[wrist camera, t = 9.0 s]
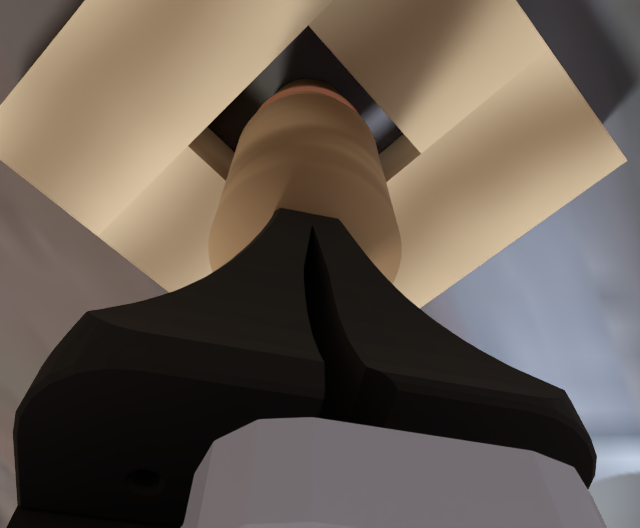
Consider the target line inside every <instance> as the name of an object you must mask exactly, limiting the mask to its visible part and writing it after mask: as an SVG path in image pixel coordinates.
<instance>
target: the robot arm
mask: <svg viewBox="0 0 640 528" xmlns="http://www.w3.org/2000/svg"><path fill="white" fill-rule="evenodd" d="M13 441H14V456H15V472H16V487H17V502H18V506H17V508H16V510H15V512H14V514H13V516H12V518H11V520H10V522H9V524H8V526H7V528H607V527H606V525H605V523H604V521H603V518H602V516H601V514H600V512H599V510H598V508H597V506H596V504H595V502H594V500H593V498H592V496H591V494H590V492H589V491H588V489H589V487H590V485H591V483H592V480H593V478H594V476H595V470H596V459H597V456H596V453H595V450H594V447H593V444H592V441H591V438H590V436H589V434H588V432H587V430H586V429H585V427H584V425H583V423H582V421H581V419H580V417H579V415H578V414H577V412H576V410H575V408H574V406H573V404H572V402H571V400H570V399H569V397H568V395H567V394H566V392H565V390H563V389H560V388H558V387H556V386H553V385H551V384H549V383H547V382H544V381H542V380H540V379H538V378H535V377H533V376H531V375H529V374H526V373H524V372H522V371H519V370H517V369H515V368H513V367H511V366H509V365H507V364H505V363H503V362H501V361H499V360H497V359H496V358H494V357H492V356H490V355H488V354H486V353H484V352H483V351H481V350H479V349H477V348H476V347H474V346H472V345H471V344H469V343H467V342H466V341H464V340H462V339H461V338H459V337H458V336H456V335H455V334H453V333H452V332H450V331H449V330H448V329H446V328H445V327H443V326H442V325H440V324H439V323H437V322H436V321H435V320H433V319H432V318H431V317H429V316H428V315H427V314H425V313H424V312H423V311H422V310H421V309H419V308H418V307H417V306H416V305H415V304H414V303H412V302H411V301H410V300H409V299H408V298H406V297H405V296H404V295H403V294H402V293H401V292H400V291H399V290H398V289H397V288H396V287H395V286H394V285H393V284H392V283H391V282H390V281H389V280H388V279H387V278H386V277H385V276H384V275H383V274H382V272H381V271H380V270H379V269H378V268H377V267H376V266H375V265H374V263H373V262H372V261H371V260H370V259H369V257H368V256H367V255H366V254H365V252H364V251H363V250H362V249H361V247H360V246H359V245H358V243H357V242H356V241H355V239H354V238H353V237H352V236H351V234H350V233H349V231H348V230H347V229H346V227H345V226H344V225H343V223H342V222H341V221H340V220H339V219H337V218H332V217H327V216H322V215H316V214H311V213H306V212H301V211H295V210H290V209H285V208H279V209H277V210H276V211H274V214H273V216H272V217H271V219H270V221H269V222H268V223H267V225H266V226H265V227H264V228H263V230H262V231H261V232H260V233H259V234H258V235H257V236H256V237H255V238H254V239H253V240H252V241H251V242H250V243H249V244H248V245H247V246H246V247H245V248H244V249H243V250H242V251H240V252H239V253H238V254H237V255H236V256H235V257H233V258H232V259H231V260H230V261H228V262H227V263H226V264H224V265H223V266H221V267H220V268H219V269H217V270H216V271H214V272H212V273H211V274H209V275H208V276H206V277H204V278H202V279H200V280H198V281H196V282H194V283H191V284H189V285H187V286H185V287H183V288H181V289H178V290H175V291H173V292H170V293H167V294H164V295H161V296H158V297H154V298H151V299H148V300H144V301H140V302H136V303H132V304H126V305H121V306H116V307H110V308H105V309H100V310H93V311H88V312H86V313H85V314H84V315H83V316H82V317H81V318H80V320H79V321H78V322H77V323H76V324H75V325H74V326H73V327H72V329H71V330H70V331H69V332H68V333H67V334H66V336H65V337H64V338H63V339H62V340H61V341H60V343H59V344H58V345H57V346H56V347H55V348H54V350H53V351H52V352H51V354H50V355H49V357H48V358H47V359H46V361H45V362H44V364H43V365H42V367H41V369H40V370H39V372H38V374H37V376H36V377H35V379H34V381H33V383H32V384H31V386H30V388H29V390H28V391H27V393H26V395H25V397H24V398H23V400H22V402H21V403H20V405H19V407H18V409H17V410H16V414H15V422H14V429H13Z"/></svg>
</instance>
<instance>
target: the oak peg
mask: <svg viewBox="0 0 640 528" xmlns="http://www.w3.org/2000/svg"><path fill="white" fill-rule="evenodd" d="M279 208H285V209H290V210H295V211H301V212H306V213H311V214H316V215H322V216H327V217H332V218H337V219H339V220H340V221H341V222H342V223H343V225H344V226H345V227H346V229H347V230H348V231H349V233H350V234H351V236H352V237H353V238H354V239H355V241H356V242H357V243H358V245H359V246H360V247H361V249H362V250H363V251H364V252H365V254H366V255H367V256H368V257H369V259H370V260H371V261H372V262H373V263H374V265H375V266H376V267H377V268H378V269H379V270H380V271H381V272H382V274H383V275H384V276H385V277H386V278H387V279H388V280H389V281H390V282H391V283H392V284H393V282H394V280H395V278H396V276H397V273H398V270H399V266H400V261H401V251H402V245H401V236H400V232H399V228H398V224H397V221H396V217H395V213H394V210H393V206H392V202H391V198H390V195H389V191H388V187H387V184H386V180H385V176H384V173H383V169H382V165H381V161H380V158H379V154H378V150H377V147H376V143H375V140H374V137H373V135H372V133H371V131H370V129H369V127H368V126H367V124H366V123H365V122H364V120H363V119H362V118H361V117H360V115H359V114H358V112H357V110H356V109H355V108H354V107H353V105H352V104H351V103H350V102H349V101H348V100H347V99H345V98H344V97H343V96H341V95H340V93H339V92H338V91H337V90H336V89H335V88H333V87H332V86H330V85H329V84H327V83H325V82H322V81H320V80H315V79H300V80H296V81H293V82H290V83H288V84H286V85H285V86H283V87H282V88H281V89H280V90H279V91H278V92H277V93H276V94H274V95H273V96H271V97H270V98H269V99H268V100H266V101H265V102H264V103H263V105H262V106H261V107H260V108H259V109H258V111H257V112H256V114H255V115H254V116H253V117H252V118H251V119H250V120H249V122H248V123H247V125H246V126H245V128H244V129H243V131H242V134H241V136H240V138H239V141H238V144H237V148H236V151H235V154H234V157H233V160H232V163H231V167H230V170H229V173H228V176H227V179H226V182H225V186H224V189H223V192H222V195H221V198H220V201H219V205H218V208H217V211H216V214H215V217H214V220H213V224H212V227H211V230H210V235H209V242H208V254H209V261H210V266H211V269H212V272H214V271H216V270H217V269H219V268H220V267H221V266H223V265H224V264H226V263H227V262H228V261H230V260H231V259H232V258H233V257H235V256H236V255H237V254H238V253H239V252H240V251H242V250H243V249H244V248H245V247H246V246H247V245H248V244H249V243H250V242H251V241H252V240H253V239H254V238H255V237H256V236H257V235H258V234H259V233H260V232H261V231H262V230H263V228H264V227H265V226H266V225H267V223H268V222H269V221H270V219H271V217H272V216H273V214H274V211H276V210H277V209H279Z"/></svg>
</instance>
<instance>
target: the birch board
mask: <svg viewBox="0 0 640 528" xmlns="http://www.w3.org/2000/svg"><path fill="white" fill-rule="evenodd" d="M307 26H309V27H310V28H311V29H312V30H313V31H314V32H315V33H316V35H317V36H318V37H319V38H320V39H321V40H322V41H323V43H324V44H325V45H326V46H327V47H328V48H329V49H330V51H331V52H332V53H333V54H334V55H335V56H336V57H337V58H338V60H339V61H340V62H341V63H342V64H343V65H344V66H345V68H346V69H347V70H348V71H349V72H350V73H351V74H352V76H353V77H354V78H355V79H356V80H357V81H358V82H359V84H360V85H361V86H362V87H363V88H364V89H365V90H366V91H367V93H368V94H369V95H370V96H371V97H372V98H373V99H374V101H375V102H376V103H377V104H378V105H379V106H380V107H381V109H382V110H383V111H384V112H385V113H386V114H387V115H388V116H389V118H390V119H391V120H392V121H393V122H394V123H395V124H396V126H397V127H398V128H399V129H400V130H401V131H402V132H403V135H401V136H400V137H399V138H398V139H397V140H396V141H394V142H393V143H392V144H391V145H390V146H388V147H387V148H386V149H385V150H384V151H383V152H381V153H380V154H379V158H380V161H381V165H382V169H383V173H384V176H385V180H386V184H387V187H388V191H389V195H390V198H391V202H392V206H393V210H394V213H395V217H396V221H397V224H398V228H399V232H400V236H401V245H402V251H401V261H400V266H399V270H398V273H397V276H396V278H395V280H394V282H393V285H394V286H395V287H396V288H397V289H398V290H399V291H400V292H401V293H402V294H403V295H404V296H405V297H406V298H408V299H409V300H410V301H411V302H412V303H414V304H415V305H416V306H417V307H418V308H421V307H422V306H424V305H425V304H426V303H428V302H429V301H431V300H432V299H433V298H435V297H436V296H438V295H439V294H441V293H442V292H443V291H445V290H446V289H448V288H449V287H450V286H452V285H453V284H455V283H456V282H457V281H459V280H460V279H462V278H463V277H464V276H466V275H467V274H469V273H470V272H471V271H473V270H474V269H476V268H477V267H478V266H480V265H481V264H483V263H484V262H485V261H487V260H488V259H490V258H491V257H492V256H494V255H495V254H497V253H498V252H500V251H501V250H502V249H504V248H505V247H507V246H508V245H509V244H511V243H512V242H514V241H515V240H516V239H518V238H519V237H521V236H522V235H523V234H525V233H526V232H528V231H529V230H530V229H532V228H533V227H535V226H536V225H537V224H539V223H540V222H542V221H543V220H544V219H546V218H547V217H549V216H550V215H552V214H553V213H554V212H556V211H557V210H559V209H560V208H561V207H563V206H564V205H566V204H567V203H568V202H570V201H571V200H573V199H574V198H575V197H577V196H578V195H580V194H581V193H582V192H584V191H585V190H587V189H588V188H589V187H591V186H592V185H594V184H595V183H596V182H598V181H599V180H601V179H602V178H603V177H605V176H606V175H608V174H609V173H611V172H612V171H613V170H615V169H616V168H618V167H619V166H620V165H622V164H623V163H625V162H626V161H627V159H626V158H625V156H624V155H623V154H622V152H621V151H620V149H619V148H618V146H617V145H616V144H615V142H614V141H613V139H612V138H611V136H610V135H609V133H608V132H607V131H606V129H605V128H604V126H603V125H602V123H601V122H600V120H599V119H598V118H597V116H596V115H595V113H594V112H593V110H592V109H591V108H590V106H589V105H588V103H587V102H586V100H585V99H584V97H583V96H582V95H581V93H580V92H579V90H578V89H577V87H576V86H575V84H574V83H573V82H572V80H571V79H570V77H569V76H568V74H567V73H566V71H565V70H564V69H563V67H562V66H561V64H560V63H559V61H558V60H557V59H556V57H555V56H554V54H553V53H552V51H551V50H550V48H549V47H548V46H547V44H546V43H545V41H544V40H543V38H542V37H541V35H540V34H539V33H538V31H537V30H536V28H535V27H534V25H533V24H532V23H531V21H530V20H529V18H528V17H527V15H526V14H525V12H524V11H523V10H522V8H521V7H520V5H519V4H518V2H517V1H516V0H85V1H84V2H83V3H82V5H81V6H80V7H79V8H78V10H77V11H76V12H75V13H74V15H73V16H72V17H71V18H70V20H69V21H68V22H67V23H66V24H65V26H64V27H63V28H62V29H61V31H60V32H59V33H58V34H57V36H56V37H55V38H54V39H53V41H52V42H51V43H50V44H49V46H48V47H47V48H46V49H45V51H44V52H43V53H42V54H41V56H40V57H39V58H38V59H37V61H36V62H35V63H34V64H33V66H32V67H31V68H30V69H29V71H28V72H27V73H26V74H25V76H24V77H23V78H22V79H21V81H20V82H19V83H18V84H17V86H16V87H15V88H14V89H13V91H12V92H11V93H10V94H9V95H8V97H7V98H6V99H5V100H4V102H3V103H2V104H1V105H0V160H1V161H3V162H4V163H5V164H6V165H8V166H9V167H10V168H11V169H13V170H14V171H15V172H17V173H18V174H19V175H20V176H22V177H23V178H24V179H25V180H27V181H28V182H29V183H31V184H32V185H33V186H34V187H36V188H37V189H38V190H39V191H41V192H42V193H43V194H45V195H46V196H47V197H48V198H50V199H51V200H52V201H53V202H55V203H56V204H57V205H59V206H60V207H61V208H62V209H64V210H65V211H66V212H67V213H69V214H70V215H71V216H73V217H74V218H75V219H76V220H78V221H79V222H80V223H81V224H83V225H84V226H85V227H87V228H88V229H89V230H90V231H92V232H93V233H94V234H96V235H97V236H98V237H99V238H101V239H102V240H103V241H104V242H106V243H107V244H108V245H110V246H111V247H112V248H113V249H115V250H116V251H117V252H118V253H120V254H121V255H122V256H124V257H125V258H126V259H127V260H129V261H130V262H131V263H132V264H134V265H135V266H136V267H138V268H139V269H140V270H141V271H143V272H144V273H145V274H146V275H148V276H149V277H150V278H152V279H153V280H154V281H155V282H157V283H158V284H159V285H160V286H162V287H163V288H164V289H166V290H167V291H168V292H169V293H170V292H173V291H175V290H178V289H181V288H183V287H185V286H187V285H189V284H191V283H194V282H196V281H198V280H200V279H202V278H204V277H206V276H208V275H209V274H211V273H212V269H211V266H210V261H209V254H208V242H209V235H210V230H211V227H212V224H213V220H214V217H215V214H216V211H217V208H218V205H219V201H220V198H221V195H222V192H223V189H224V186H225V182H226V179H227V176H228V173H229V170H230V167H231V163H232V160H233V157H234V154H235V153H234V152H233V151H232V150H231V149H230V148H229V147H228V146H227V145H226V144H225V143H224V142H223V141H222V140H221V139H220V138H219V137H218V136H217V135H216V134H215V133H213V132H212V131H211V130H210V129H209V128H208V127H207V126H208V125H209V124H210V123H211V122H212V121H213V120H214V119H215V118H216V117H217V116H218V115H219V114H220V113H221V112H222V111H223V110H224V109H225V108H226V107H227V106H228V105H229V104H230V103H231V102H232V101H233V100H234V99H235V98H236V97H237V96H238V95H239V94H240V93H241V92H242V91H243V90H244V89H245V88H246V87H247V86H248V85H249V84H250V83H251V82H252V81H253V80H254V79H255V78H256V77H257V76H258V75H259V74H260V73H261V72H262V71H263V70H264V69H265V68H266V67H267V66H268V65H269V64H270V63H271V62H272V61H273V60H274V59H275V58H276V57H277V56H278V55H279V54H280V53H281V52H282V51H283V50H284V49H285V48H286V47H287V46H288V45H289V44H290V43H291V42H292V41H293V40H294V39H295V38H296V37H297V36H298V35H299V34H300V33H301V32H302V31H303V30H304V29H305V28H306V27H307Z"/></svg>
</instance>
